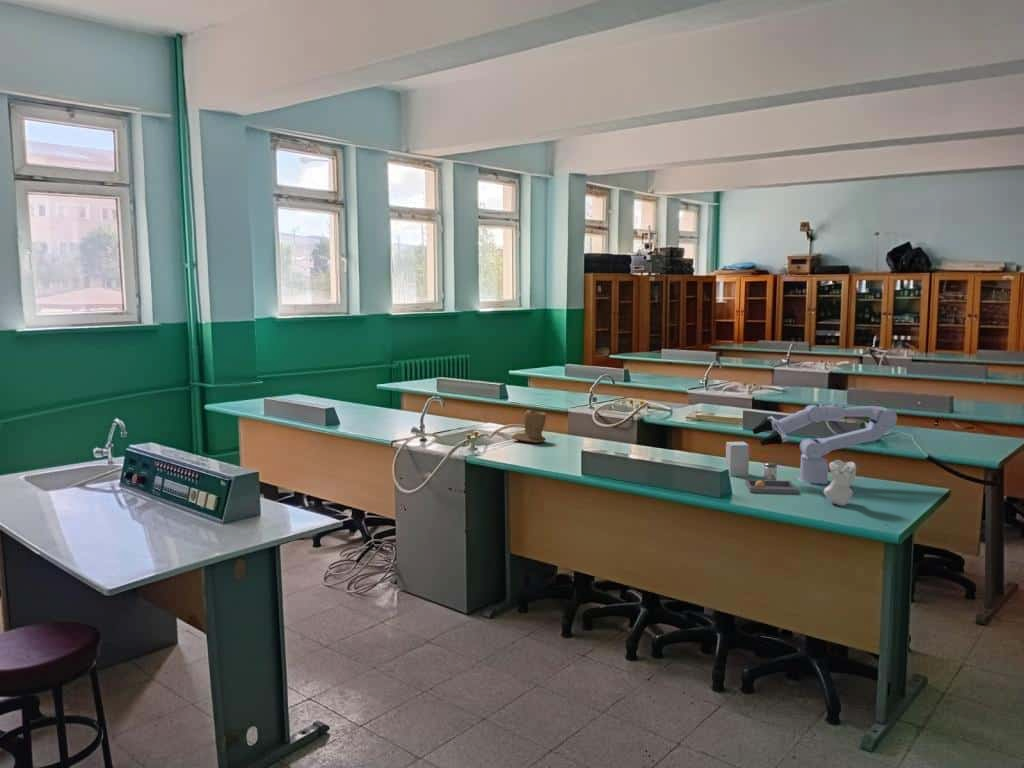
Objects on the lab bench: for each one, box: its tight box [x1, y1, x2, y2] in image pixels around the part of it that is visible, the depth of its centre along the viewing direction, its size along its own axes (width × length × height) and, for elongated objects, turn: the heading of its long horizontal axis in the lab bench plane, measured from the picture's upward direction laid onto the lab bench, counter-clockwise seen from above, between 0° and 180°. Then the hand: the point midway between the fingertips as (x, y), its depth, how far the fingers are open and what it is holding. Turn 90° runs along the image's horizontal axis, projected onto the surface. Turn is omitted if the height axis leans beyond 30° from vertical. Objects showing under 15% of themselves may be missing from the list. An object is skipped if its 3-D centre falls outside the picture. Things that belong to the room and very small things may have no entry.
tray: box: [744, 479, 798, 495], centre depth 286 cm, size 16×12×2 cm
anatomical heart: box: [823, 459, 857, 507], centre depth 265 cm, size 10×11×15 cm
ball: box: [755, 481, 765, 488], centre depth 284 cm, size 4×4×4 cm
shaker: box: [763, 461, 778, 481], centre depth 297 cm, size 5×5×7 cm
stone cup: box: [511, 409, 547, 443], centre depth 375 cm, size 15×12×15 cm
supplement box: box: [725, 441, 750, 477], centre depth 308 cm, size 7×7×13 cm
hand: (756, 437), depth 298 cm, fingers open, 7 cm apart
